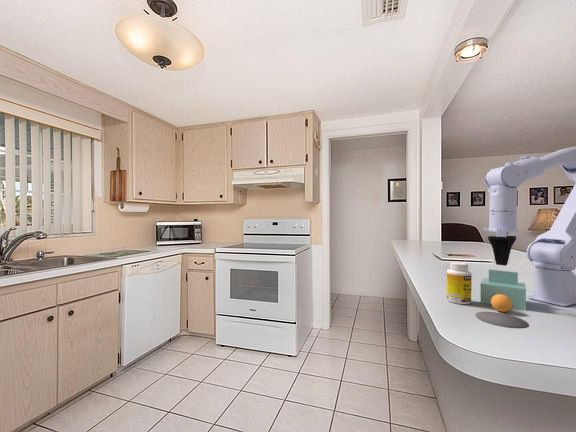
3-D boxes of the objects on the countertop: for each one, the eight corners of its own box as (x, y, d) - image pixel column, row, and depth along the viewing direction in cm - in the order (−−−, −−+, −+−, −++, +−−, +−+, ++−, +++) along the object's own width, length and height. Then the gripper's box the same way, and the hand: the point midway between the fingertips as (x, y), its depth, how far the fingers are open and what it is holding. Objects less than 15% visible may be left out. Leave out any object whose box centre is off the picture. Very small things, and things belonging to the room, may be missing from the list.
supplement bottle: (465, 306, 69) (465, 265, 69) (442, 300, 74) (442, 262, 74) (475, 302, 72) (475, 263, 72) (453, 297, 77) (453, 260, 77)
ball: (496, 307, 68) (496, 291, 68) (515, 312, 64) (515, 295, 64) (487, 309, 66) (487, 293, 66) (506, 315, 63) (506, 297, 63)
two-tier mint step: (483, 295, 79) (483, 266, 79) (524, 301, 73) (524, 270, 73) (480, 302, 72) (480, 271, 72) (525, 310, 66) (525, 276, 66)
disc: (490, 310, 66) (490, 309, 66) (536, 323, 58) (536, 322, 58) (466, 315, 62) (466, 315, 62) (513, 330, 54) (513, 329, 54)
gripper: (486, 212, 81) (485, 258, 81) (481, 211, 70) (481, 264, 70) (517, 212, 76) (516, 261, 76) (517, 211, 65) (517, 268, 65)
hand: (502, 263), depth 73 cm, fingers open, 7 cm apart
